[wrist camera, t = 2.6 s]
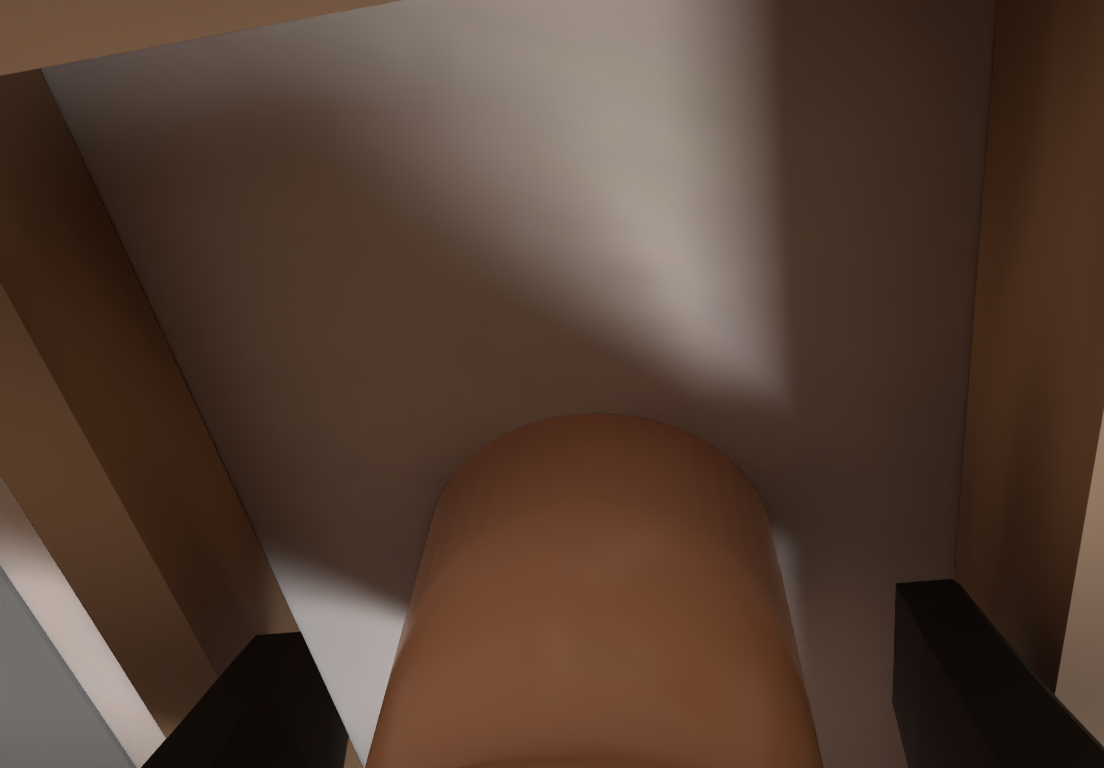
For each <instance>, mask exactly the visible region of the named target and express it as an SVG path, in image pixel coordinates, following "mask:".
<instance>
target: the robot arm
mask: <svg viewBox="0 0 1104 768" xmlns="http://www.w3.org/2000/svg"><path fill="white" fill-rule="evenodd" d="M892 702H893V707H894V711H895V715H896V719H897V723H898V727H899V731H900V735H901V739H902V743H903V747H904V751H905V755H906V759H907V763H908V767H909V768H1104V746H1103V745H1102V744H1101V743H1100V742H1099V741H1098V740H1097V739H1096V738H1095V737H1094V736H1093V735H1092V734H1091V733H1090V732H1089V731H1088V730H1087V729H1086V727H1085V726H1084V725H1083V724H1082V723H1081V722H1080V721H1079V720H1078V719H1077V718H1076V717H1075V716H1074V715H1073V714H1072V713H1071V712H1070V711H1069V710H1068V709H1067V708H1066V707H1065V705H1064V704H1063V703H1062V702H1061V701H1060V700H1059V699H1058V698H1057V697H1056V696H1055V695H1054V694H1053V693H1052V691H1051V690H1050V689H1049V688H1048V687H1047V686H1046V685H1045V684H1044V683H1043V682H1042V680H1041V679H1040V678H1039V677H1038V676H1037V675H1036V674H1035V673H1034V671H1033V670H1032V669H1031V668H1030V667H1029V666H1028V665H1027V663H1026V662H1025V661H1024V660H1023V659H1022V658H1021V657H1020V656H1019V654H1018V653H1017V652H1016V651H1015V650H1014V649H1013V648H1012V646H1011V645H1010V644H1009V643H1008V642H1007V641H1006V639H1005V638H1004V637H1003V636H1002V635H1001V633H1000V632H999V631H998V630H997V629H996V628H995V626H994V625H993V624H992V623H991V622H990V620H989V619H988V618H987V617H986V616H985V614H984V613H983V612H982V611H981V609H980V608H979V607H978V606H977V604H976V603H975V602H974V601H973V600H972V598H971V597H970V596H969V594H968V593H967V592H966V591H965V589H964V588H963V587H962V586H961V585H960V584H959V583H957V582H956V581H954V580H953V579H944V580H932V581H919V582H907V583H896V598H895V631H894V665H893V699H892ZM348 738H349V735H348V733H347V731H346V729H345V726H344V724H343V722H342V720H341V718H340V716H339V713H338V711H337V709H336V707H335V705H334V703H333V700H332V698H331V696H330V694H329V692H328V690H327V687H326V685H325V683H324V681H323V679H322V677H321V674H320V672H319V670H318V668H317V666H316V664H315V661H314V659H313V657H312V655H311V653H310V651H309V648H308V646H307V644H306V642H305V640H304V638H303V635H302V633H301V632H289V633H276V634H264V635H255V637H254V638H253V639H252V640H251V641H250V642H249V643H248V644H247V645H246V647H245V648H244V649H243V650H242V651H241V652H240V653H239V654H238V656H237V657H236V658H235V659H234V660H233V661H232V663H231V664H230V665H229V666H228V667H227V668H226V670H225V671H224V672H223V673H222V674H221V675H220V677H219V678H218V679H217V680H216V681H215V682H214V684H213V685H212V686H211V687H210V688H209V690H208V691H207V692H206V693H205V694H204V695H203V697H202V698H201V699H200V700H199V701H198V702H197V704H196V705H195V706H194V707H193V708H192V710H191V711H190V712H189V713H188V714H187V715H186V717H185V718H184V719H183V720H182V721H181V722H180V724H179V725H178V726H177V727H176V728H175V729H174V731H173V732H172V733H171V734H170V735H169V736H168V737H167V739H166V740H165V741H164V742H163V743H162V744H161V745H160V747H159V748H158V749H157V750H156V751H155V752H154V753H153V755H152V756H151V757H150V758H149V759H148V760H147V761H146V763H145V764H144V765H143V766H142V767H141V768H344V763H345V757H346V751H347V744H348Z"/></svg>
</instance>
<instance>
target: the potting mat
mask: <svg viewBox="0 0 1104 768" xmlns="http://www.w3.org/2000/svg"><path fill="white" fill-rule="evenodd" d="M0 768H136V766H135V765H134V763H133V762H132V760H131V759H130V757H129V756H128V754H127V753H126V751H125V750H124V748H123V747H122V745H121V744H120V743H119V741H118V740H117V738H116V737H115V735H114V734H113V732H112V731H111V729H110V728H109V726H108V725H107V723H106V722H105V720H104V719H103V717H102V716H101V714H100V713H99V711H98V710H97V708H96V707H95V705H94V704H93V702H92V701H91V699H90V698H89V696H88V695H87V694H86V692H85V691H84V689H83V688H82V686H81V685H80V683H79V682H78V680H77V679H76V677H75V676H74V674H73V673H72V671H71V670H70V668H69V667H68V665H67V664H66V662H65V661H64V659H63V658H62V656H61V655H60V653H59V652H58V650H57V649H56V648H55V646H54V645H53V643H52V642H51V640H50V639H49V637H48V636H47V634H46V633H45V631H44V630H43V628H42V627H41V625H40V624H39V622H38V621H37V619H36V618H35V616H34V615H33V613H32V612H31V610H30V609H29V607H28V606H27V604H26V603H25V601H24V600H23V599H22V597H21V596H20V594H19V593H18V591H17V590H16V588H15V587H14V585H13V584H12V582H11V581H10V579H9V578H8V576H7V575H6V573H5V572H4V570H3V569H2V567H1V566H0Z"/></svg>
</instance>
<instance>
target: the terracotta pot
mask: <svg viewBox="0 0 1104 768" xmlns="http://www.w3.org/2000/svg"><path fill="white" fill-rule="evenodd" d="M365 768H823V763H822V758H821V754H820V749H819V744H818V740H817V735H816V731H815V726H814V721H813V717H812V712H811V708H810V703H809V698H808V694H807V689H806V685H805V680H804V675H803V671H802V666H801V662H800V657H799V652H798V648H797V643H796V639H795V634H794V629H793V625H792V620H791V615H790V611H789V606H788V602H787V597H786V592H785V588H784V583H783V579H782V574H781V569H780V565H779V560H778V556H777V551H776V546H775V542H774V537H773V533H772V528H771V523H770V520H769V517H768V514H767V511H766V508H765V505H764V504H763V502H762V500H761V498H760V496H759V494H758V492H757V491H756V489H755V487H754V486H753V485H752V484H751V482H750V481H749V480H748V478H747V477H746V476H745V474H744V473H743V472H742V471H741V470H740V469H739V468H738V467H737V466H736V465H735V464H734V463H733V462H732V461H731V460H730V459H728V458H727V457H726V456H724V455H723V454H722V453H720V452H719V451H718V450H716V449H715V448H714V447H712V446H711V445H709V444H707V443H705V442H704V441H702V440H700V439H698V438H696V437H695V436H693V435H691V434H689V433H686V432H684V431H681V430H679V429H676V428H674V427H671V426H669V425H665V424H662V423H658V422H655V421H651V420H647V419H643V418H637V417H630V416H624V415H612V414H581V415H569V416H563V417H557V418H551V419H546V420H543V421H539V422H536V423H532V424H529V425H525V426H523V427H520V428H518V429H516V430H513V431H511V432H509V433H506V434H504V435H502V436H500V437H499V438H497V439H495V440H494V441H492V442H490V443H488V444H487V445H485V446H484V447H482V448H481V449H480V450H479V451H477V452H476V453H475V454H473V455H472V456H471V457H470V458H468V459H467V460H466V461H465V463H464V464H463V465H462V466H461V467H460V468H459V469H458V470H457V471H456V472H455V473H454V475H453V476H452V477H451V479H450V480H449V482H448V483H447V485H446V486H445V487H444V489H443V492H442V494H441V496H440V498H439V500H438V502H437V504H436V508H435V511H434V515H433V519H432V522H431V526H430V530H429V533H428V537H427V541H426V544H425V548H424V552H423V555H422V559H421V563H420V567H419V570H418V574H417V578H416V581H415V585H414V589H413V592H412V596H411V600H410V604H409V607H408V611H407V615H406V618H405V622H404V626H403V629H402V633H401V637H400V641H399V644H398V648H397V652H396V655H395V659H394V663H393V666H392V670H391V674H390V678H389V681H388V685H387V689H386V692H385V696H384V700H383V703H382V707H381V711H380V715H379V718H378V722H377V726H376V729H375V733H374V737H373V740H372V744H371V748H370V752H369V755H368V759H367V763H366V766H365Z"/></svg>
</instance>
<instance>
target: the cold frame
mask: <svg viewBox="0 0 1104 768" xmlns="http://www.w3.org/2000/svg"><path fill="white" fill-rule="evenodd" d="M394 1H399V0H0V475H1V476H2V478H3V479H4V481H5V483H6V484H7V486H8V487H9V489H10V491H11V492H12V494H13V495H14V497H15V499H16V500H17V502H18V503H19V505H20V506H21V508H22V510H23V511H24V513H25V514H26V516H27V518H28V519H29V521H30V522H31V524H32V526H33V527H34V529H35V530H36V532H37V534H38V535H39V537H40V538H41V540H42V541H43V543H44V545H45V546H46V548H47V549H48V551H49V553H50V554H51V556H52V557H53V559H54V561H55V562H56V564H57V565H58V567H59V569H60V570H61V572H62V573H63V575H64V576H65V578H66V580H67V581H68V583H69V584H70V586H71V588H72V589H73V591H74V592H75V594H76V596H77V597H78V599H79V600H80V602H81V604H82V605H83V607H84V608H85V610H86V611H87V613H88V615H89V616H90V618H91V619H92V621H93V623H94V624H95V626H96V627H97V629H98V631H99V632H100V634H101V635H102V637H103V639H104V640H105V642H106V643H107V645H108V646H109V648H110V650H111V651H112V653H113V654H114V656H115V658H116V659H117V661H118V662H119V664H120V666H121V667H122V669H123V670H124V672H125V674H126V675H127V677H128V678H129V680H130V681H131V683H132V685H133V686H134V688H135V689H136V691H137V693H138V694H139V696H140V697H141V699H142V701H143V702H144V704H145V705H146V707H147V709H148V710H149V712H150V713H151V715H152V716H153V718H154V720H155V721H156V723H157V724H158V726H159V728H160V729H161V731H162V732H163V734H164V736H165V737H166V739H167V737H168V736H169V735H170V734H171V733H172V732H173V731H174V729H175V728H176V727H177V726H178V725H179V724H180V722H181V721H182V720H183V719H184V718H185V717H186V715H187V714H188V713H189V712H190V711H191V710H192V708H193V707H194V706H195V705H196V704H197V702H198V701H199V700H200V699H201V698H202V697H203V695H204V694H205V693H206V692H207V691H208V690H209V688H210V687H211V686H212V685H213V684H214V682H215V681H216V680H217V679H218V678H219V677H220V675H221V674H222V673H223V672H224V671H225V670H226V668H227V667H228V666H229V665H230V664H231V663H232V661H233V660H234V659H235V658H236V657H237V656H238V654H239V653H240V652H241V651H242V650H243V649H244V648H245V647H246V645H247V644H248V643H249V642H250V641H251V640H252V639H253V638H254V637H255V635H264V634H276V633H289V632H300V630H299V628H298V626H297V623H296V621H295V619H294V617H293V615H292V613H291V610H290V608H289V606H288V604H287V602H286V600H285V598H284V595H283V593H282V591H281V589H280V587H279V585H278V582H277V580H276V578H275V576H274V574H273V572H272V569H271V567H270V565H269V563H268V561H267V559H266V556H265V554H264V552H263V550H262V548H261V546H260V543H259V541H258V539H257V537H256V535H255V533H254V530H253V528H252V526H251V524H250V522H249V520H248V517H247V515H246V513H245V511H244V509H243V507H242V504H241V502H240V500H239V498H238V496H237V494H236V492H235V489H234V487H233V485H232V483H231V481H230V479H229V476H228V474H227V472H226V470H225V468H224V466H223V463H222V461H221V459H220V457H219V455H218V453H217V450H216V448H215V446H214V444H213V442H212V440H211V437H210V435H209V433H208V431H207V429H206V427H205V424H204V422H203V420H202V418H201V416H200V414H199V411H198V409H197V407H196V405H195V403H194V401H193V398H192V396H191V394H190V392H189V390H188V388H187V386H186V383H185V381H184V379H183V377H182V375H181V373H180V370H179V368H178V366H177V364H176V362H175V360H174V357H173V355H172V353H171V351H170V349H169V347H168V344H167V342H166V340H165V338H164V336H163V334H162V331H161V329H160V327H159V325H158V323H157V321H156V318H155V316H154V314H153V312H152V310H151V308H150V305H149V303H148V301H147V299H146V297H145V295H144V292H143V290H142V288H141V286H140V284H139V282H138V280H137V277H136V275H135V273H134V271H133V269H132V267H131V264H130V262H129V260H128V258H127V256H126V254H125V251H124V249H123V247H122V245H121V243H120V241H119V238H118V236H117V234H116V232H115V230H114V228H113V225H112V223H111V221H110V219H109V217H108V215H107V212H106V210H105V208H104V206H103V204H102V202H101V199H100V197H99V195H98V193H97V191H96V189H95V186H94V184H93V182H92V180H91V178H90V176H89V174H88V171H87V169H86V167H85V165H84V163H83V161H82V158H81V156H80V154H79V152H78V150H77V148H76V145H75V143H74V141H73V139H72V137H71V135H70V132H69V130H68V128H67V126H66V124H65V122H64V119H63V117H62V115H61V113H60V111H59V109H58V106H57V104H56V102H55V100H54V98H53V96H52V93H51V91H50V89H49V87H48V85H47V83H46V80H45V78H44V76H43V74H42V72H41V70H40V68H44V67H49V66H54V65H60V64H65V63H70V62H76V61H81V60H86V59H92V58H97V57H102V56H107V55H113V54H118V53H123V52H129V51H134V50H139V49H145V48H150V47H155V46H160V45H166V44H171V43H176V42H182V41H187V40H192V39H197V38H203V37H208V36H213V35H219V34H224V33H229V32H235V31H240V30H245V29H250V28H256V27H261V26H266V25H272V24H277V23H282V22H288V21H293V20H298V19H303V18H309V17H314V16H319V15H325V14H330V13H335V12H341V11H346V10H351V9H356V8H362V7H367V6H372V5H378V4H383V3H388V2H394ZM954 581H956V582H957V583H959V584H960V585H961V586H962V587H963V588H964V589H965V591H966V592H967V593H968V594H969V596H970V597H971V598H972V600H973V601H974V602H975V603H976V604H977V606H978V607H979V608H980V609H981V611H982V612H983V613H984V614H985V616H986V617H987V618H988V619H989V620H990V622H991V623H992V624H993V625H994V626H995V628H996V629H997V630H998V631H999V632H1000V633H1001V635H1002V636H1003V637H1004V638H1005V639H1006V641H1007V642H1008V643H1009V644H1010V645H1011V646H1012V648H1013V649H1014V650H1015V651H1016V652H1017V653H1018V654H1019V656H1020V657H1021V658H1022V659H1023V660H1024V661H1025V662H1026V663H1027V665H1028V666H1029V667H1030V668H1031V669H1032V670H1033V671H1034V673H1035V674H1036V675H1037V676H1038V677H1039V678H1040V679H1041V680H1042V682H1043V683H1044V684H1045V685H1046V686H1047V687H1048V688H1049V689H1050V690H1051V691H1052V693H1053V694H1054V695H1055V696H1056V697H1057V698H1058V699H1059V700H1060V701H1061V702H1062V703H1063V704H1064V705H1065V707H1066V708H1067V709H1068V710H1069V711H1070V712H1071V713H1072V714H1073V715H1074V716H1075V717H1076V718H1077V719H1078V720H1079V721H1080V722H1081V723H1082V724H1083V725H1084V726H1085V727H1086V729H1087V730H1088V731H1089V732H1090V733H1091V734H1092V735H1093V736H1094V737H1095V738H1096V739H1097V740H1098V741H1099V742H1100V743H1101V744H1102V745H1103V746H1104V0H998V2H997V15H996V29H995V42H994V55H993V68H992V82H991V95H990V108H989V121H988V135H987V148H986V161H985V174H984V188H983V201H982V214H981V227H980V241H979V254H978V267H977V280H976V294H975V307H974V320H973V333H972V347H971V360H970V373H969V386H968V400H967V413H966V426H965V439H964V453H963V466H962V479H961V492H960V506H959V519H958V532H957V545H956V559H955V572H954ZM344 768H363V766H362V764H361V762H360V760H359V758H358V755H357V753H356V751H355V749H354V747H353V745H352V742H351V740H350V738H348V744H347V751H346V757H345V763H344Z"/></svg>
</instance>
